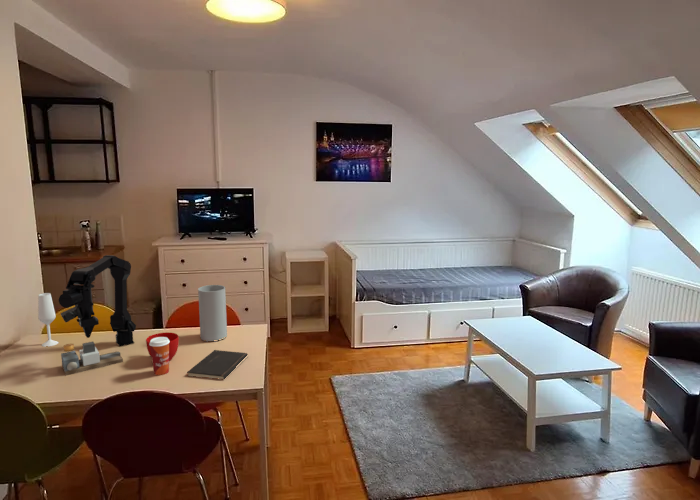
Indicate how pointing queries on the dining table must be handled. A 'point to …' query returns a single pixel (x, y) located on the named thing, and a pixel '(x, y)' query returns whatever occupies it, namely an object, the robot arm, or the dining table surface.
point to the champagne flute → (46, 314)
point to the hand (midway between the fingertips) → (87, 336)
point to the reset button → (68, 347)
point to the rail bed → (75, 365)
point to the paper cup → (160, 355)
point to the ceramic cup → (172, 345)
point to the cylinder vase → (212, 312)
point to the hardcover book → (217, 364)
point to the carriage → (89, 354)
